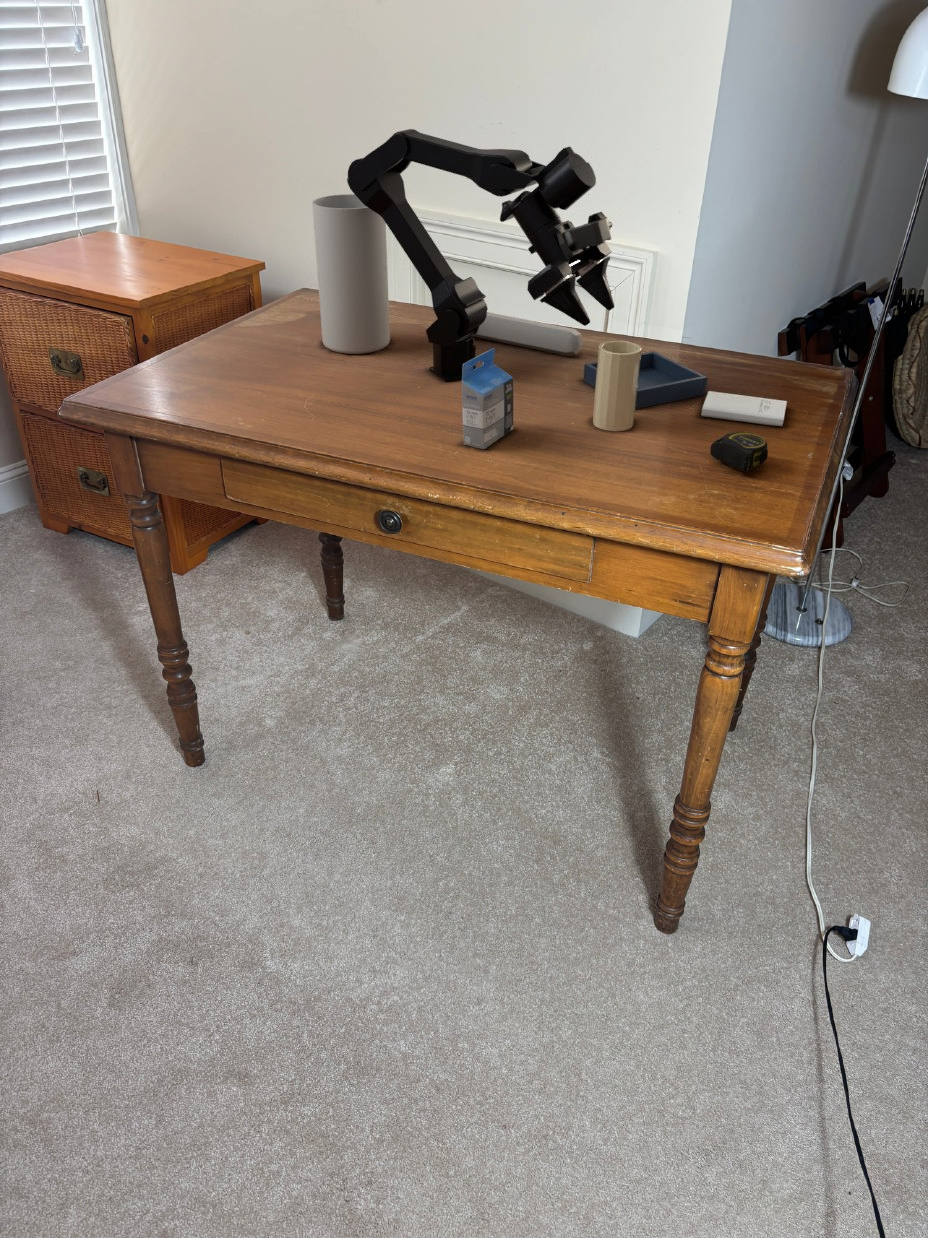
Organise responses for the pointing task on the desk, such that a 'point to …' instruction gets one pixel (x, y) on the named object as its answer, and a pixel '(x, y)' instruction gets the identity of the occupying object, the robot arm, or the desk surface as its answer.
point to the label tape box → (486, 401)
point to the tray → (659, 380)
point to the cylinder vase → (351, 274)
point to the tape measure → (740, 450)
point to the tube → (530, 334)
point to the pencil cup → (616, 385)
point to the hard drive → (744, 408)
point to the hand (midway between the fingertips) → (600, 316)
